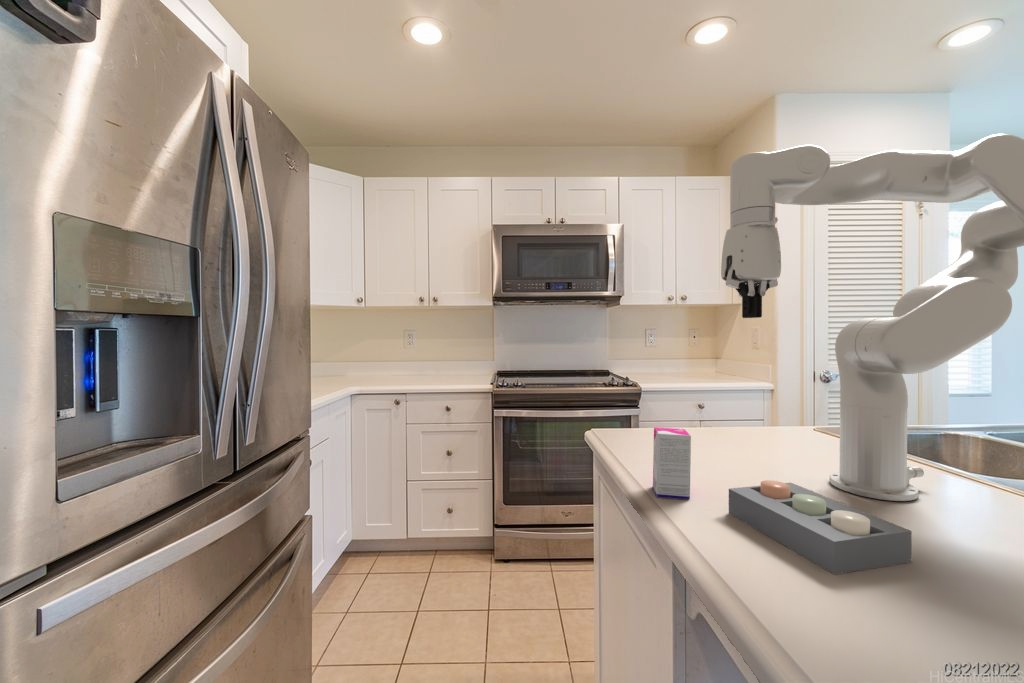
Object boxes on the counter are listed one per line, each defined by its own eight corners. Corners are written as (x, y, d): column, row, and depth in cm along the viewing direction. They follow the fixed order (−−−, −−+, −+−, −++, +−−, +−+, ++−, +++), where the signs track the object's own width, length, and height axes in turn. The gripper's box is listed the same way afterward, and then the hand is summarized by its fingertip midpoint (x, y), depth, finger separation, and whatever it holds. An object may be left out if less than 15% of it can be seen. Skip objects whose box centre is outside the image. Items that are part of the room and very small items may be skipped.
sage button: (808, 519, 64) (808, 492, 64) (833, 531, 60) (833, 503, 60) (785, 522, 63) (785, 495, 63) (809, 534, 59) (809, 506, 59)
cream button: (847, 538, 58) (847, 509, 58) (878, 552, 54) (878, 521, 54) (823, 541, 57) (823, 511, 57) (852, 556, 53) (852, 524, 53)
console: (790, 506, 72) (790, 482, 72) (911, 562, 54) (911, 531, 54) (728, 513, 69) (728, 488, 69) (834, 574, 52) (834, 541, 52)
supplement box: (691, 500, 75) (691, 435, 74) (656, 497, 76) (656, 433, 76) (685, 488, 80) (684, 427, 80) (652, 486, 82) (652, 426, 81)
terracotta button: (775, 503, 70) (775, 479, 70) (796, 513, 66) (796, 488, 66) (754, 506, 69) (754, 481, 69) (774, 516, 65) (774, 490, 65)
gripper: (769, 228, 87) (768, 318, 87) (705, 224, 84) (704, 318, 84) (801, 218, 80) (801, 317, 80) (732, 214, 77) (732, 317, 77)
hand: (751, 317), depth 82 cm, fingers closed
